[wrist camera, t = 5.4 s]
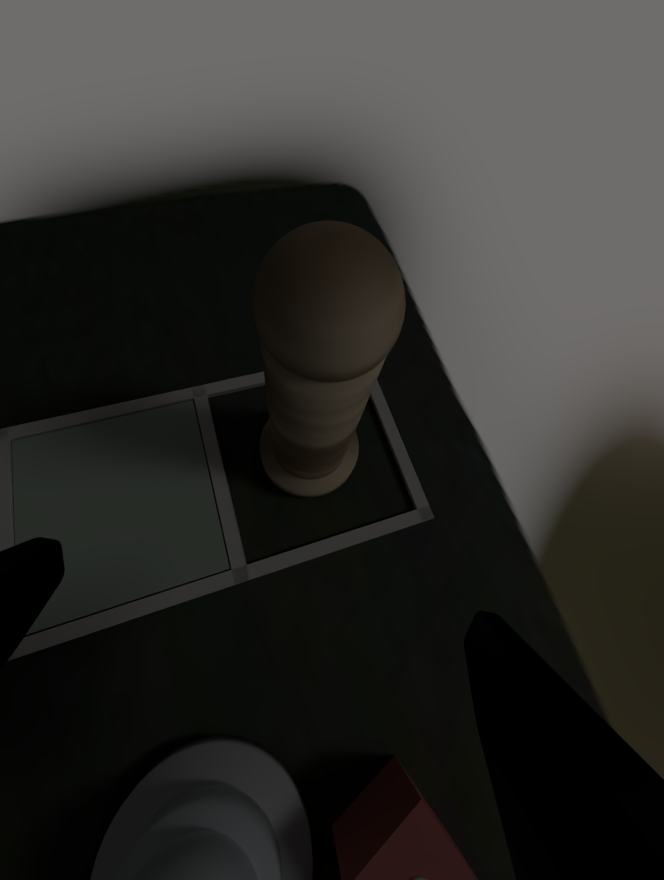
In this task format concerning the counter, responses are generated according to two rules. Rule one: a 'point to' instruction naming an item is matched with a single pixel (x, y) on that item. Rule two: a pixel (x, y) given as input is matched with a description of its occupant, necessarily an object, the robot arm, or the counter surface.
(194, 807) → the dome
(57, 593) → the game board
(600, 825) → the robot arm
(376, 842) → the die
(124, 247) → the counter surface
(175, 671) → the counter surface
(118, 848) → the base
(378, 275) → the pawn
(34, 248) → the counter surface
